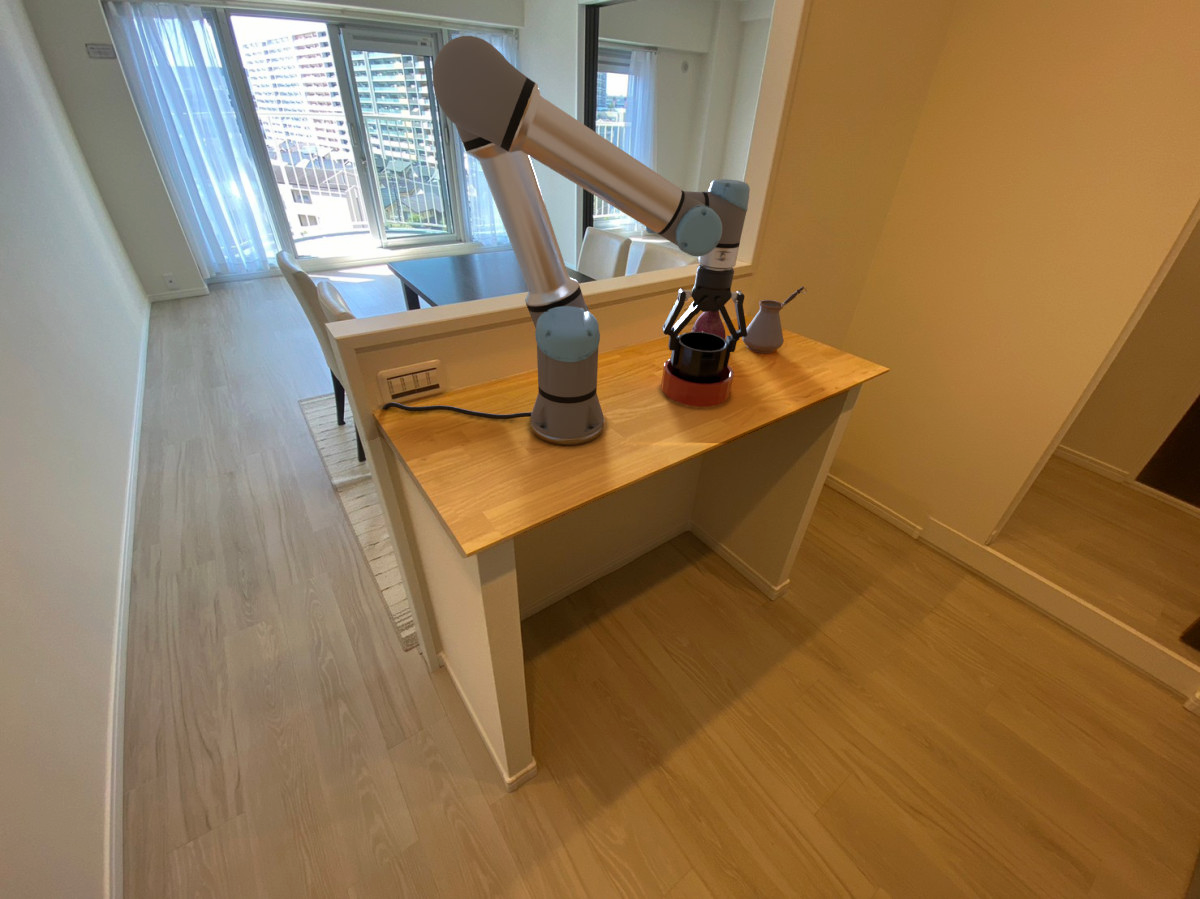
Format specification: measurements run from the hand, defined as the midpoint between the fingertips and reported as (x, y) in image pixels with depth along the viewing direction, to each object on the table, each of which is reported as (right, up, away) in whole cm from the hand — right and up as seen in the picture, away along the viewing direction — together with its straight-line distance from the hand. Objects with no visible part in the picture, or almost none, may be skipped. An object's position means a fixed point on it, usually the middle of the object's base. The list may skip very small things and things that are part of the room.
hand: (698, 363), depth 113 cm
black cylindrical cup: (0, -5, +4) cm, 6 cm away
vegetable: (+7, +9, +26) cm, 28 cm away
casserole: (0, -6, +4) cm, 7 cm away
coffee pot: (+27, +11, +30) cm, 42 cm away
